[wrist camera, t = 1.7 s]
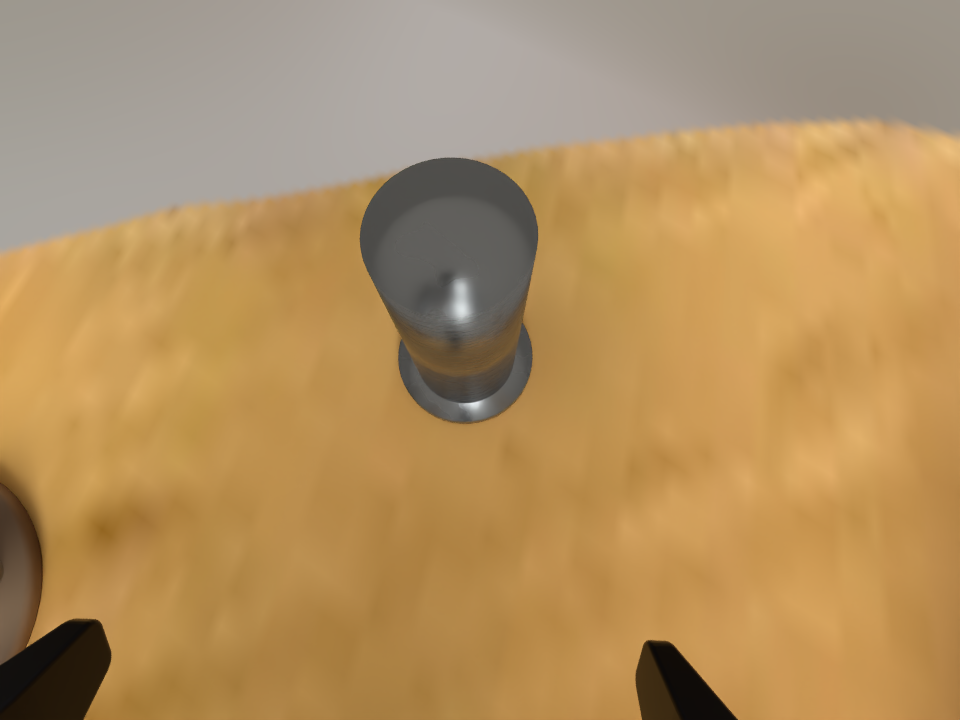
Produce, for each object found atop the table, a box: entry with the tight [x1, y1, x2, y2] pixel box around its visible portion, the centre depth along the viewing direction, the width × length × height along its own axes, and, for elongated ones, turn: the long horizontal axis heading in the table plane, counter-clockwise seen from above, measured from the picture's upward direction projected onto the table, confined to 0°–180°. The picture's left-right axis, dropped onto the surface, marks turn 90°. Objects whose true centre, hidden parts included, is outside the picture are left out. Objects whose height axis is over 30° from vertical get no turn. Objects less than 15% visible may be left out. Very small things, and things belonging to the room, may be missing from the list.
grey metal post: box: [360, 158, 538, 424], centre depth 18 cm, size 6×6×11 cm
